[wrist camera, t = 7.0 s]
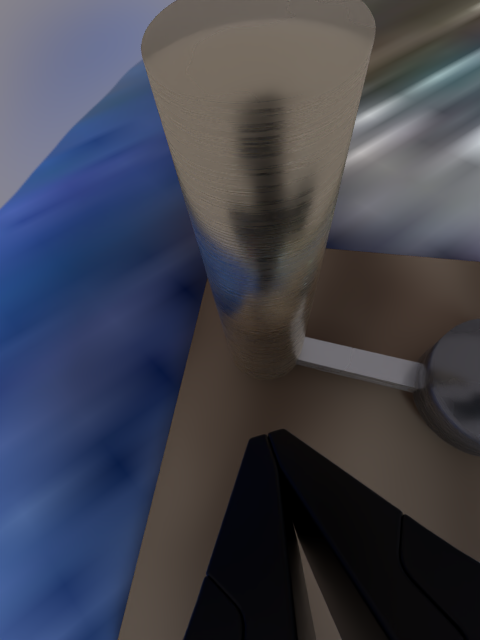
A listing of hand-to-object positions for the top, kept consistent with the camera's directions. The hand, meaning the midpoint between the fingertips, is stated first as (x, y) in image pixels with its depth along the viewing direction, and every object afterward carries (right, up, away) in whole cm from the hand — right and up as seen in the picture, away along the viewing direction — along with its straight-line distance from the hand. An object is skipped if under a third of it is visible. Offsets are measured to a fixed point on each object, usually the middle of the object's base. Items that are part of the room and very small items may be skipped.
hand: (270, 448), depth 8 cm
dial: (+8, 0, +5) cm, 9 cm away
